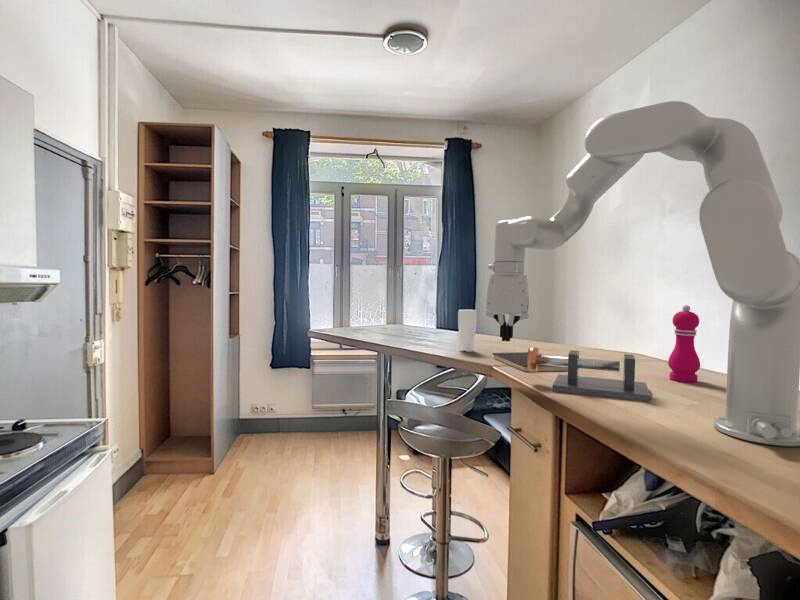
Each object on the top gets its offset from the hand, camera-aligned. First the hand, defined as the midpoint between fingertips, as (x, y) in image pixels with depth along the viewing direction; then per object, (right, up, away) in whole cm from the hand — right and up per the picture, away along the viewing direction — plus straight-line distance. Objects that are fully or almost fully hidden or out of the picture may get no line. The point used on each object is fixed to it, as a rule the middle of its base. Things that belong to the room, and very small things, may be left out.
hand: (506, 340), depth 116 cm
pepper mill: (+48, -11, +4) cm, 49 cm away
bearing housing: (+20, -11, -9) cm, 25 cm away
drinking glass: (-3, -8, +49) cm, 49 cm away
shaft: (+15, -8, -7) cm, 18 cm away
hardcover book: (+13, -10, +25) cm, 30 cm away
